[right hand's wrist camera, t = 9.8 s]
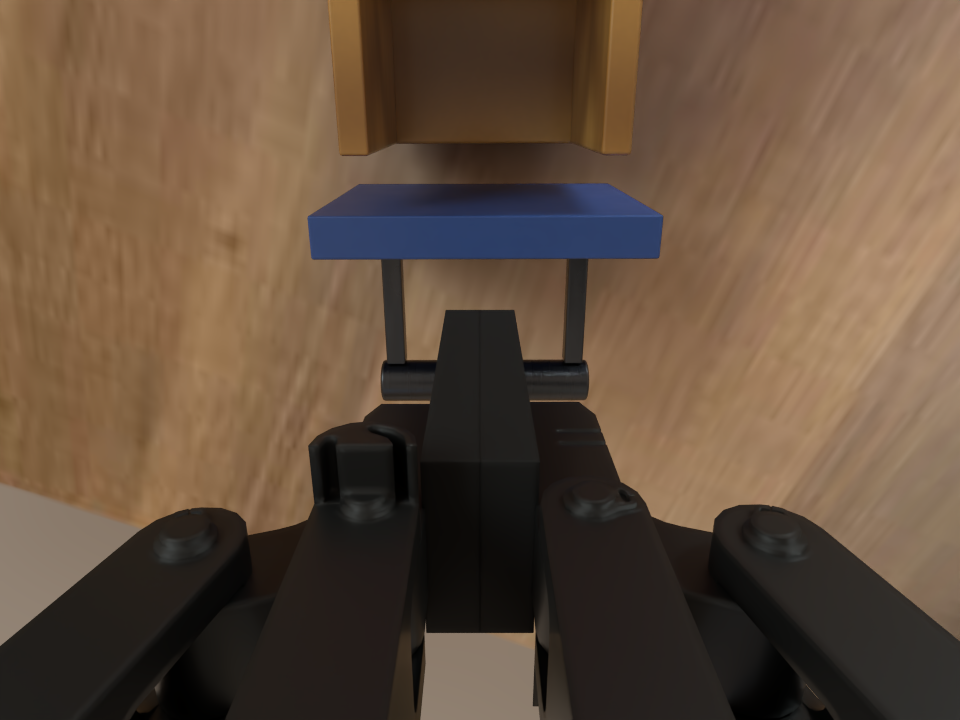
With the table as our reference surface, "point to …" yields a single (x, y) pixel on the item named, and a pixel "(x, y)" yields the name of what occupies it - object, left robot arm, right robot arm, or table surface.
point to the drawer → (485, 119)
